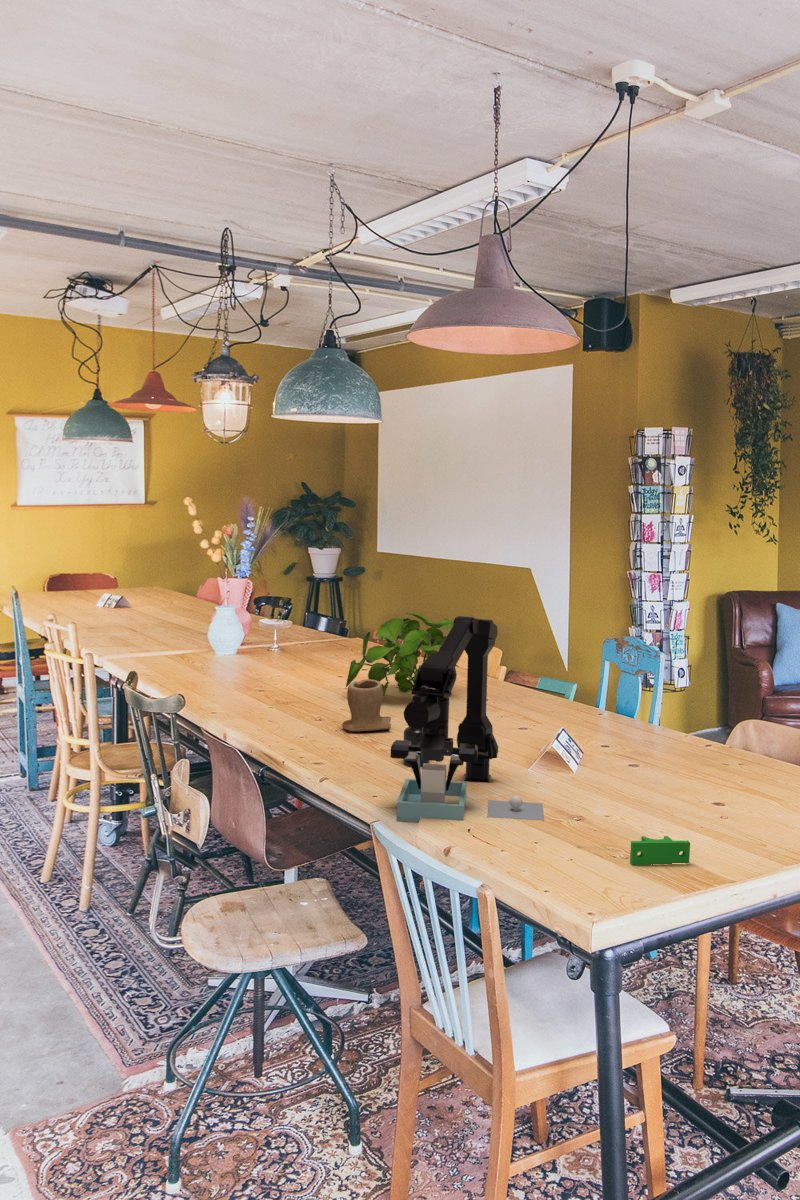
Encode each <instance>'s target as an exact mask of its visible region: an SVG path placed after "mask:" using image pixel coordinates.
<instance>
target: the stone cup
mask: <svg viewBox="0 0 800 1200" xmlns="http://www.w3.org/2000/svg"><path fill="white" fill-rule="evenodd" d="M383 698H384V696H383V689H382V683H381V681H380V682H379V681H376V680H371V679H367V678H366V679H361V680H360V681H357V680H356V681H353V682H351V683H350V684H349V685H348V686H347V695H346V700H347V705H348V708H349V711H350V719H348V720H345V721H343V722H342V723H341V727H342V728H343V729H345V730H347V731H349V732H372V731H373V732H374V731H375V732H376V731H384V730H385V731H386V730H391V728H392V725H391V720H392V719H391V718H392V717H391V716H382V715H381V708H382V703H383Z"/></svg>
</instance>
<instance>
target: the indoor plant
mask: <svg viewBox="0 0 800 1200" xmlns="http://www.w3.org/2000/svg"><path fill="white" fill-rule="evenodd" d="M406 615H411V616H413V617H416V618H417V619H419V620H421V621H422V622H423V623H424V624H425V625H426V626H429V627H428V628H426V629H420V628H421V626H420V621H418V620H417V619H410V618H407V617H406V618H397V617H396V618H390V619H389V620H387V621H385V622H384V623H382V624H380V627H379V629H377V631H376V632H375V635H374V636H375V637H376V638H377V639H378V640H380V641H386V642H385V644H384V645H374V646H372V647H369V648H368V644H369V639H370V634H371V632H370V631H368V632H367V634H366V635H365V637H364V638H363V640H362V650H361V655H362V659H360V661H359V662H357V661H356V659H353V660H351V662H350V665H349V670H348V675H347V680H346V685H345V688H348V687H349V685H350V684H351V683H353V682H354V680H355V679H356V678H357V676H358V675H359V673H360V671H361V669H362V668H363V667H364V665H365V666H370V668H369V671H368V674H367V678H368V679H371V680H376V681H379V682H380V683H381V681H383V679H384V680H386V682H385V684H383V683H381V685H382V689H383V697H385V696H386V692H387V689H388V687H389V686H390V687H394V685H390V682H389V680H388V676H391V675H394V680H395V682H397V688H398V690H399V691H400V692H402V693H408V692H409V691H412V689H413V685H414V682H415V679H416V676H417V673H418V670H419V667H420V666H421V665H422V664H421V665H420V664H419V665H418V663H419V662H418V661H419V660H418V658H419V657H421V655H422V652H421V651H420V650H422V651H423V652H425V653H424V656H423V659H422V663H423V662H424V661H425V660H426V659H427V657H429V656H431V655H433V654H435V653H437V652H438V650H435V649H440V647H441V645H442V644H443V642H444V640H445V639H446V637H447V635H444V632H443V631H442V630H441V629H443V630H444V629H445V630H451V628H452V627H453V623H454V620H451V619H449V618H442V619H441V622H436V621H435V622H434V621H429V619H428V618H427V617H426V616H424V615H423V614H421V613H415V612H414V613H413V612H407V613H406ZM399 640H403V641H402V643H399V644H398V642H399ZM367 648H368V649H367ZM419 649H420V650H419ZM380 659H384V660H385V661H386V662H388V663H383V662H378V661H379V660H380ZM375 661H377V662H375ZM374 662H375V663H374ZM417 665H418V668H417ZM455 667H456V668H457V667H458V668H459V665H457V664H456V666H455ZM413 675H414V676H413ZM352 681H353V682H352ZM421 687H422V688H425V687H423V686H421Z"/></svg>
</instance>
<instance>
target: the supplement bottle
mask: <svg viewBox="0 0 800 1200" xmlns="http://www.w3.org/2000/svg"><path fill="white" fill-rule="evenodd" d="M407 726H408V727H406V728H405V729H404V731H403V740H405V741H411V745H415V746H420V739H421V737H422V728H418V729H416V728H412V727H411V726H409V725H408V724H407ZM419 755H420V754H419ZM402 763H403V765H405V766H406V767H410V768H411V766H410V764H409V763H406V762H404V759H402ZM424 763H429V764H430V760H428V761H423V760H422V759H421V755H420V768H422V767H423V764H424Z"/></svg>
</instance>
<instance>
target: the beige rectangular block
mask: <svg viewBox="0 0 800 1200" xmlns="http://www.w3.org/2000/svg"><path fill="white" fill-rule="evenodd" d="M446 781H447V764H446V763H445V764H444V763H442V764H441V763H430V762H429V763H424V764H423V767H421V802H425V803H443V804H446V795H445V784H446Z"/></svg>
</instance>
